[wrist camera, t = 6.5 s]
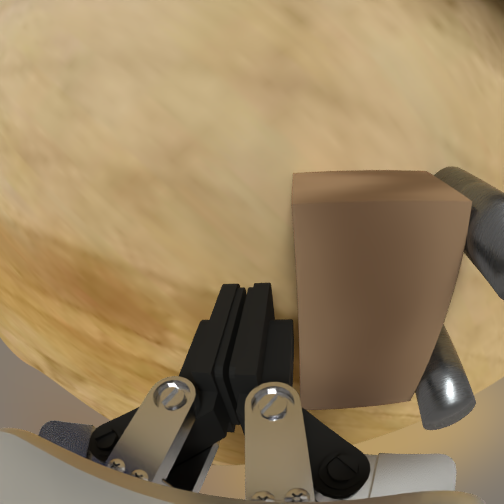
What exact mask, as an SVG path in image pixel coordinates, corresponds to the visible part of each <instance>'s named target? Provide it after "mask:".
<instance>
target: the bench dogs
mask: <svg viewBox="0 0 504 504" xmlns="http://www.w3.org/2000/svg"><path fill="white" fill-rule="evenodd" d="M434 176H435V177H437V178H438V179H440V180H442V181H443V182H445V183H446V184H448V185H449V186H451V187H452V188H454V189H455V190H457V191H458V192H460V193H461V194H462V195H464V196H465V197H467V198H468V199H470V200H471V201H472V206H471V213H470V220H469V226H468V232H467V237H466V242H465V247H464V253H465V254H466V256H467V257H468V258H469V259H470V260H471V261H472V263H473V264H474V265H475V266H476V267H477V269H478V270H479V271H480V272H481V273H482V275H483V276H484V277H485V279H486V280H487V281H488V282H489V284H490V285H491V286H492V288H493V289H494V290H495V292H496V293H497V294H498V296H499V297H500V298H501V299H503V300H504V193H503V192H501V191H500V190H498V189H496V188H495V187H493V186H491V185H490V184H488V183H486V182H484V181H483V180H481V179H479V178H477V177H475V176H474V175H472V174H470V173H468V172H466V171H464V170H462V169H460V168H458V167H446V168H444V169H442V170H440V171H439V172H437V173H436V174H435V175H434ZM415 393H416V397H417V401H418V405H419V410H420V414H421V419H422V423H423V427H424V428H425V429H427V430H437V429H441V428H444V427H447V426H450V425H452V424H454V423H456V422H458V421H459V420H461V419H462V418H464V417H465V416H466V415H468V414H469V413H470V412H471V411H472V409H473V408H474V406H475V404H476V401H475V398H474V395H473V392H472V389H471V387H470V384H469V381H468V379H467V376H466V374H465V371H464V369H463V366H462V364H461V361H460V359H459V357H458V354H457V352H456V350H455V348H454V345H453V343H452V341H451V339H450V336H449V334H448V332H447V330H446V328H445V326H444V324H443V326H442V329H441V332H440V334H439V337H438V340H437V342H436V345H435V347H434V350H433V352H432V355H431V357H430V360H429V362H428V364H427V367H426V369H425V371H424V373H423V376H422V378H421V380H420V382H419V384H418V386H417V388H416V390H415Z"/></svg>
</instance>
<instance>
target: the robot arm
mask: <svg viewBox="0 0 504 504" xmlns="http://www.w3.org/2000/svg"><path fill="white" fill-rule="evenodd" d="M293 361H294V334H293V320H292V319H289V320H275V317H274V308H273V298H272V289H271V283H255V284H254V287H250V288H248V292H247V295H246V290H245V288H240V285H239V284H223V285H222V287H221V290H220V293H219V295H218V298H217V301H216V303H215V306H214V309H213V312H212V314H211V317H210V320H202V321H201V322H200V324H199V326H198V329H197V331H196V334H195V336H194V339H193V341H192V344H191V346H190V349H189V351H188V354H187V356H186V359H185V361H184V364H183V367H182V369H181V372H180V374H179V376H172V377H167V378H164V379H162V380H160V381H159V382H157V383H156V384H155V385H154V386H153V387H152V388H151V390H150V391H149V393H148V394H147V396H146V398H145V399H144V401H143V402H142V404H141V405H140V407H138V408H136V409H134V410H132V411H130V412H128V413H126V414H124V415H122V416H120V417H118V418H116V419H113V420H111V421H109V422H107V423H105V424H103V425H101V426H99V427H98V428H95V427H94V426H93V425H86V424H76V423H68V422H61V421H49V422H47V423H45V424H44V425H43V426H42V428H41V430H40V432H39V435H35V434H33V433H31V432H28V431H25V430H22V429H16V428H0V504H486V503H485V502H484V501H483V500H482V499H481V498H480V497H478V496H476V495H473V494H470V493H465V492H458V491H455V482H456V465H455V463H454V461H453V460H452V458H450V457H449V456H447V455H444V454H388V453H379V454H378V455H368V454H363V453H362V452H361V451H360V450H358V449H357V448H356V447H354V446H353V445H351V444H350V443H349V442H347V441H346V440H344V439H343V438H342V437H340V436H339V435H338V434H336V433H335V432H334V431H332V430H331V429H330V428H328V427H327V426H326V425H324V424H323V423H322V422H320V421H319V420H318V419H316V418H315V417H314V416H313V415H311V414H310V413H309V412H307V411H306V410H305V409H304V408H302V407H301V401H300V397H299V395H298V393H297V391H296V390H295V389H294V388H293V387H292V384H293ZM240 424H241V427H242V430H243V433H244V435H245V490H246V491H245V493H246V494H245V495H246V500H242V499H233V498H225V497H218V496H212V495H206V494H200V493H199V491H200V489H201V486H202V484H203V482H204V480H205V478H206V475H207V473H208V471H209V468H210V466H211V464H212V461H213V459H214V457H215V454H216V452H217V450H218V447H219V443H220V440H221V439H223V438H225V437H226V434H227V432H234V430H235V425H240Z"/></svg>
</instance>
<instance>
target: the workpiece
mask: <svg viewBox="0 0 504 504" xmlns="http://www.w3.org/2000/svg"><path fill="white" fill-rule="evenodd" d="M471 206H472V201H471V200H470V199H468V198H467V197H465V196H464V195H462V194H461V193H460V192H458V191H457V190H455V189H454V188H452V187H451V186H449V185H448V184H446V183H445V182H443V181H442V180H440V179H438V178H437V177H435V176H434V175H432V174H430V173H429V172H427V171H398V170H365V171H326V172H305V173H293V187H292V216H293V230H294V244H295V260H296V277H297V297H298V321H299V354H300V401H301V407H302V408H304V409H305V410H322V409H342V408H356V407H367V406H376V405H385V404H392V403H399V402H406V401H410V400H411V398H412V396H413V394H414V392H415V390H416V388H417V386H418V384H419V382H420V380H421V378H422V376H423V373H424V371H425V369H426V367H427V364H428V362H429V360H430V357H431V355H432V352H433V350H434V347H435V345H436V342H437V340H438V337H439V334H440V332H441V329H442V326H443V323H444V320H445V317H446V314H447V311H448V308H449V305H450V302H451V298H452V295H453V292H454V288H455V284H456V281H457V277H458V273H459V269H460V265H461V261H462V256H463V252H464V247H465V242H466V237H467V232H468V226H469V220H470V213H471Z"/></svg>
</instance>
